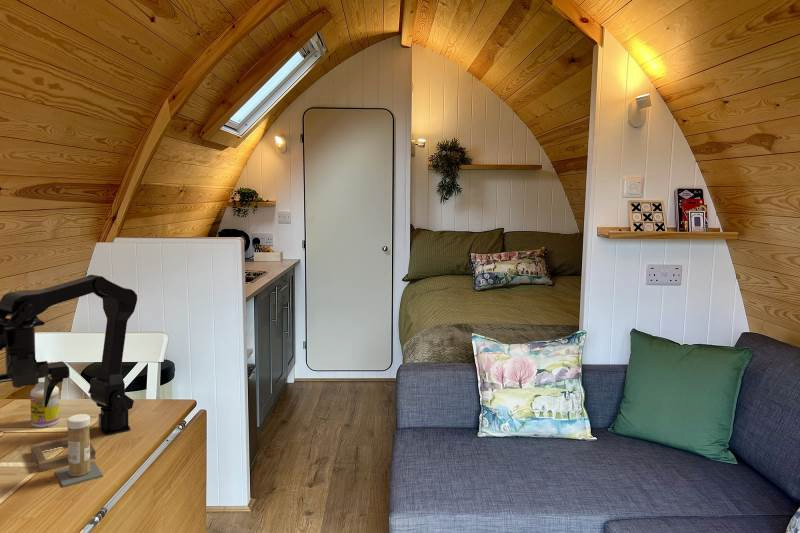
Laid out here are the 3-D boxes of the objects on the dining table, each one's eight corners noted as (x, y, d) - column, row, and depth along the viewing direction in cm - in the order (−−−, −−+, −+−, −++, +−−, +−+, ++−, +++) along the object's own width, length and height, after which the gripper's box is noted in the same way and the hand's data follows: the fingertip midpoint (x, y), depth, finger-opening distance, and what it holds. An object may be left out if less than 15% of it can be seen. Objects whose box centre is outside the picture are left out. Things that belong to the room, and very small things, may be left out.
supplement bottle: (25, 425, 149) (23, 380, 147) (47, 416, 155) (46, 373, 154) (43, 430, 147) (42, 384, 145) (65, 421, 153) (64, 377, 152)
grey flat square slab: (94, 462, 132) (94, 461, 132) (102, 476, 126) (102, 474, 126) (55, 472, 126) (55, 470, 126) (62, 487, 121) (62, 485, 120)
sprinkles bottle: (94, 472, 127) (93, 417, 125) (73, 479, 123) (72, 423, 121) (84, 465, 129) (84, 411, 128) (64, 472, 126) (63, 417, 124)
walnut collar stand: (84, 440, 142) (83, 433, 142) (95, 458, 134) (95, 450, 134) (31, 452, 135) (30, 445, 134) (39, 472, 126) (39, 463, 126)
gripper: (-28, 362, 114) (-25, 432, 116) (74, 349, 126) (75, 413, 128) (-33, 349, 122) (-30, 415, 124) (63, 338, 134) (65, 398, 136)
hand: (22, 410), depth 128 cm, fingers open, 9 cm apart
